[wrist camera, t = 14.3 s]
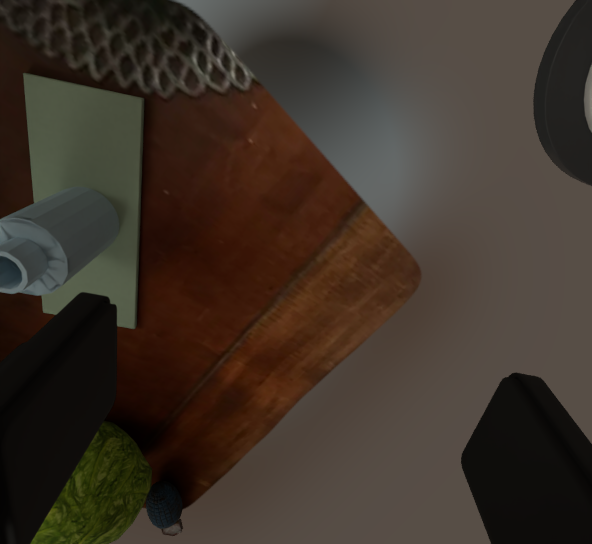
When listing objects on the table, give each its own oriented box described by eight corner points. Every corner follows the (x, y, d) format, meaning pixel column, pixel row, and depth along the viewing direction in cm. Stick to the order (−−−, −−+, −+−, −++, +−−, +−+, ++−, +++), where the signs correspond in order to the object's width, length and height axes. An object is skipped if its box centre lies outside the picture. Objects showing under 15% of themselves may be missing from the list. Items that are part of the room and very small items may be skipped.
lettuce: (59, 463, 63) (16, 390, 58) (182, 486, 52) (142, 399, 48) (-45, 560, 50) (-109, 477, 46) (89, 616, 40) (22, 515, 35)
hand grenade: (172, 465, 56) (185, 508, 61) (138, 479, 55) (154, 523, 59) (178, 493, 53) (192, 537, 57) (142, 509, 51) (159, 552, 56)
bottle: (51, 180, 38) (-51, 221, 27) (119, 194, 39) (45, 240, 28) (55, 242, 41) (-37, 302, 30) (119, 255, 41) (51, 318, 31)
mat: (27, 73, 35) (22, 72, 34) (144, 98, 35) (142, 98, 35) (46, 309, 45) (42, 312, 45) (136, 326, 46) (134, 329, 45)
